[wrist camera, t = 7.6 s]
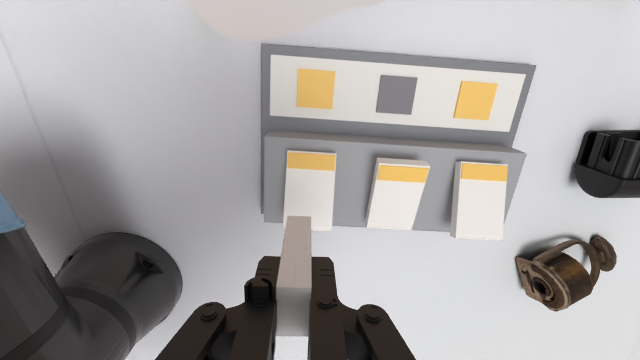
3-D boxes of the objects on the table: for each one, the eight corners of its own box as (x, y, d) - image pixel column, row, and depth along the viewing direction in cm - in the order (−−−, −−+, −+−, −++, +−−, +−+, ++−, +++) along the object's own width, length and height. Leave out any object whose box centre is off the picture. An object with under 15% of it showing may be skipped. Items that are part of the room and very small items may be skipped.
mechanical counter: (549, 245, 36) (537, 322, 37) (663, 253, 35) (647, 331, 36) (514, 228, 43) (505, 293, 44) (608, 234, 42) (596, 300, 43)
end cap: (564, 184, 39) (613, 206, 32) (580, 130, 36) (637, 143, 30) (639, 183, 39) (703, 206, 32) (661, 130, 36) (734, 142, 30)
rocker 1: (283, 226, 31) (282, 229, 30) (288, 151, 31) (287, 150, 30) (330, 229, 31) (331, 231, 30) (335, 154, 31) (336, 153, 30)
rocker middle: (365, 221, 33) (366, 228, 32) (377, 157, 29) (379, 163, 28) (408, 223, 34) (411, 231, 32) (426, 160, 30) (430, 167, 28)
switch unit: (262, 210, 39) (255, 229, 34) (263, 44, 32) (254, 39, 27) (483, 222, 40) (506, 242, 35) (530, 65, 33) (565, 64, 29)
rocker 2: (450, 235, 32) (456, 238, 31) (455, 161, 32) (461, 161, 30) (494, 238, 32) (503, 240, 31) (500, 164, 32) (508, 164, 31)
